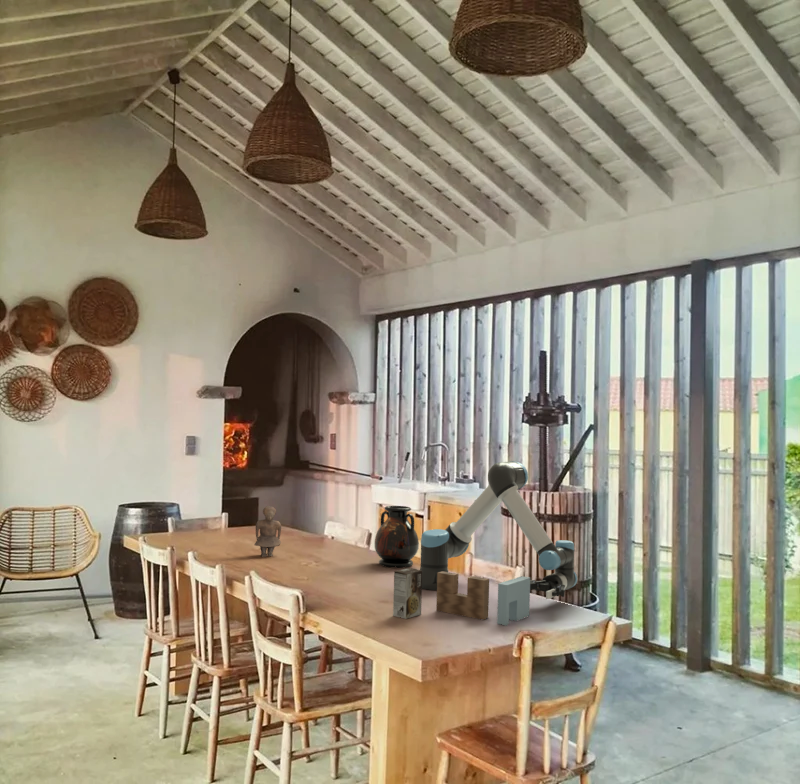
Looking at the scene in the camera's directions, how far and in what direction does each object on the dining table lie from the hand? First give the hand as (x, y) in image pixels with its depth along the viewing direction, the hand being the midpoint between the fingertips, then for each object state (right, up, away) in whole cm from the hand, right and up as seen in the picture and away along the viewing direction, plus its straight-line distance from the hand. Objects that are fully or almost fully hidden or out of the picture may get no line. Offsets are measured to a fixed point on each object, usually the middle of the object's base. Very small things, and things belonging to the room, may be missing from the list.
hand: (530, 592), depth 294 cm
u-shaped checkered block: (-26, -7, -4) cm, 27 cm away
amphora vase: (-50, -10, +89) cm, 102 cm away
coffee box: (-46, -6, -8) cm, 47 cm away
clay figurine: (-115, -8, +102) cm, 154 cm away
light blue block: (-7, -7, -10) cm, 14 cm away
